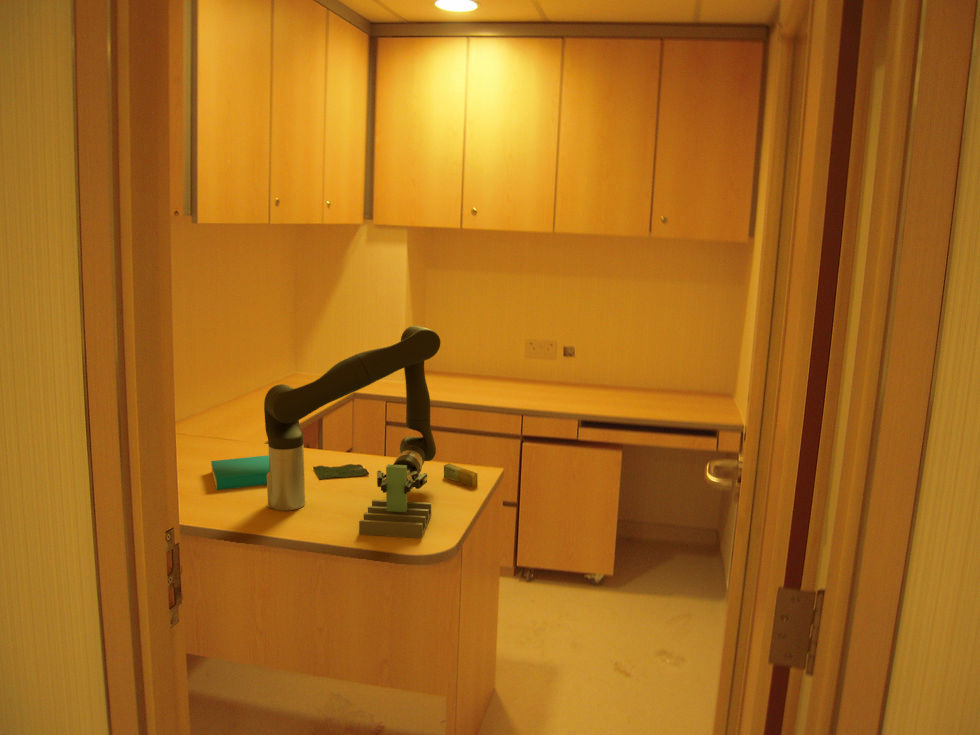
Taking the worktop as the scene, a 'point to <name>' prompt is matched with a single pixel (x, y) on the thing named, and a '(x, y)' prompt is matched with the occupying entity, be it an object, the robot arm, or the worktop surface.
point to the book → (240, 472)
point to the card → (396, 488)
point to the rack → (396, 520)
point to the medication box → (460, 475)
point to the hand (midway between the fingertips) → (394, 489)
